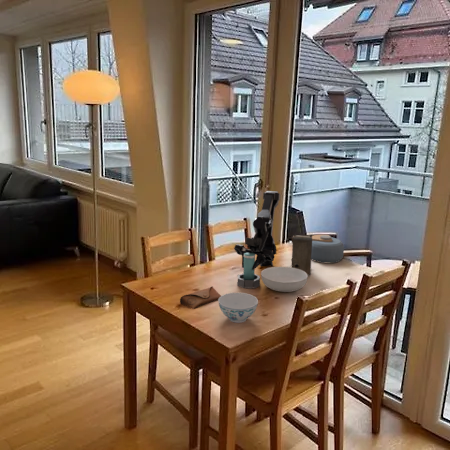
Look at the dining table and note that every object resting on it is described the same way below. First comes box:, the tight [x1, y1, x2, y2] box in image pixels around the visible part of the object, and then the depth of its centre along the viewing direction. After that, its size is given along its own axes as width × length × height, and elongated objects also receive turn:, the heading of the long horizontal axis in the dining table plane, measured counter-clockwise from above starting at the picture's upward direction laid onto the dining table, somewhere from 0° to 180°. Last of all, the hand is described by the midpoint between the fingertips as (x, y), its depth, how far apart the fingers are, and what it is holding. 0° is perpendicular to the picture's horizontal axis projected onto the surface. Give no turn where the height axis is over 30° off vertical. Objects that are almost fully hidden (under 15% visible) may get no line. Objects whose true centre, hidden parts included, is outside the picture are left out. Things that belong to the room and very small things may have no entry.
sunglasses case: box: [179, 286, 222, 310], centre depth 189 cm, size 18×7×7 cm
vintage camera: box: [290, 234, 313, 276], centre depth 224 cm, size 10×16×20 cm, turn 174°
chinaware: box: [217, 292, 259, 324], centre depth 172 cm, size 15×15×8 cm
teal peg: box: [242, 253, 256, 280], centre depth 206 cm, size 5×5×13 cm
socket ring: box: [236, 273, 261, 289], centre depth 207 cm, size 10×10×4 cm
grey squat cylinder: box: [311, 234, 345, 263], centre depth 246 cm, size 19×20×12 cm
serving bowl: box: [260, 266, 309, 293], centre depth 203 cm, size 21×21×7 cm
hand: (247, 268), depth 204 cm, fingers closed on teal peg, 5 cm apart
